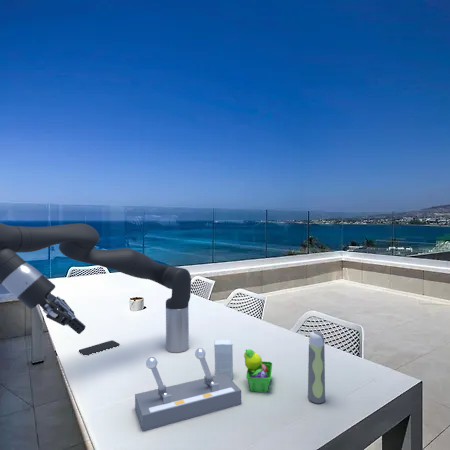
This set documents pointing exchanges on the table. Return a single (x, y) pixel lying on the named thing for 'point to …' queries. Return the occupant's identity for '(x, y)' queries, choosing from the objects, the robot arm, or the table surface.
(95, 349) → the phone
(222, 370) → the skincare box
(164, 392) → the switch near
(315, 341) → the camo grip handle
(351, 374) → the table surface
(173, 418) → the switch console
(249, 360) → the fruit basket
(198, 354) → the switch far
